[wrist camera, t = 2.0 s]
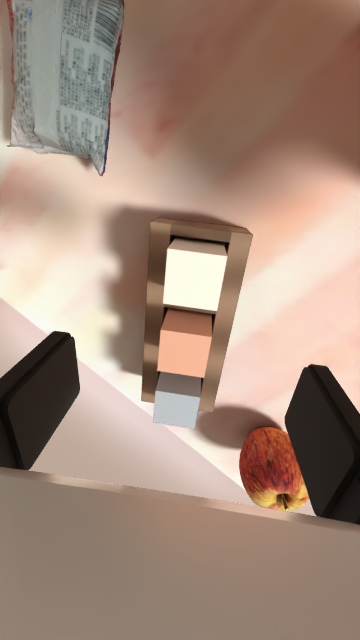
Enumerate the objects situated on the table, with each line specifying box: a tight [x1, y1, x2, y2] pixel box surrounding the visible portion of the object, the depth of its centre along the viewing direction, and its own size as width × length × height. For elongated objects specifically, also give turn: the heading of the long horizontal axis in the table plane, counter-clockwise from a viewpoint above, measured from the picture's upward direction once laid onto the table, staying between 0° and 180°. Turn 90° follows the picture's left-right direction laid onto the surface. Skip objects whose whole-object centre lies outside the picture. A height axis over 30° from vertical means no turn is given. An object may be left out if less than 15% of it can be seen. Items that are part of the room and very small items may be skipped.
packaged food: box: [7, 0, 124, 176], centre depth 20 cm, size 9×12×5 cm
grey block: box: [153, 371, 201, 429], centre depth 29 cm, size 4×4×5 cm
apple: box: [239, 427, 309, 511], centre depth 34 cm, size 9×9×10 cm
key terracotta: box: [157, 308, 212, 378], centre depth 25 cm, size 4×4×5 cm
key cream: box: [163, 238, 227, 311], centre depth 22 cm, size 4×4×5 cm
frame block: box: [141, 217, 253, 412], centre depth 29 cm, size 21×9×4 cm, turn 174°
